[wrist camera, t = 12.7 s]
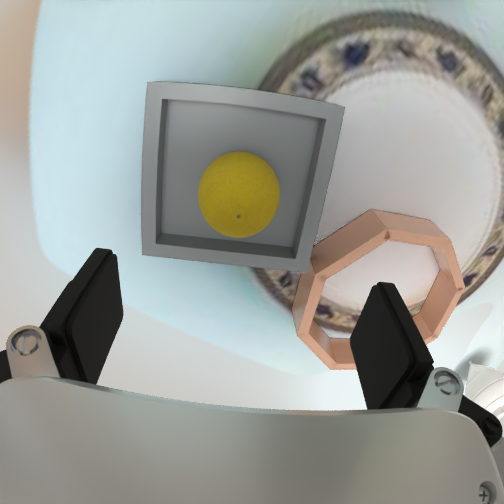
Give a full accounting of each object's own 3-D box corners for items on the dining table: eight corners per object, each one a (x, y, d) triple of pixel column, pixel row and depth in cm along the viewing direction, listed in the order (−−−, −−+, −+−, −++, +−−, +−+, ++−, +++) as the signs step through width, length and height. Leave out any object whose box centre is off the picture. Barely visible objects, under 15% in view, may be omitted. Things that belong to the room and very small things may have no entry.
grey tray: (334, 103, 23) (345, 107, 21) (300, 254, 30) (306, 272, 28) (157, 81, 22) (147, 82, 20) (150, 238, 29) (142, 254, 26)
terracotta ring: (464, 227, 29) (484, 245, 26) (408, 344, 38) (418, 366, 34) (319, 200, 28) (330, 219, 24) (282, 342, 36) (285, 368, 33)
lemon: (242, 220, 27) (241, 274, 20) (190, 178, 25) (170, 219, 18) (289, 174, 25) (306, 214, 18) (237, 127, 23) (234, 148, 16)
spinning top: (457, 381, 44) (483, 435, 34) (443, 368, 41) (473, 428, 31) (492, 354, 41) (522, 406, 31) (481, 337, 39) (517, 395, 28)
